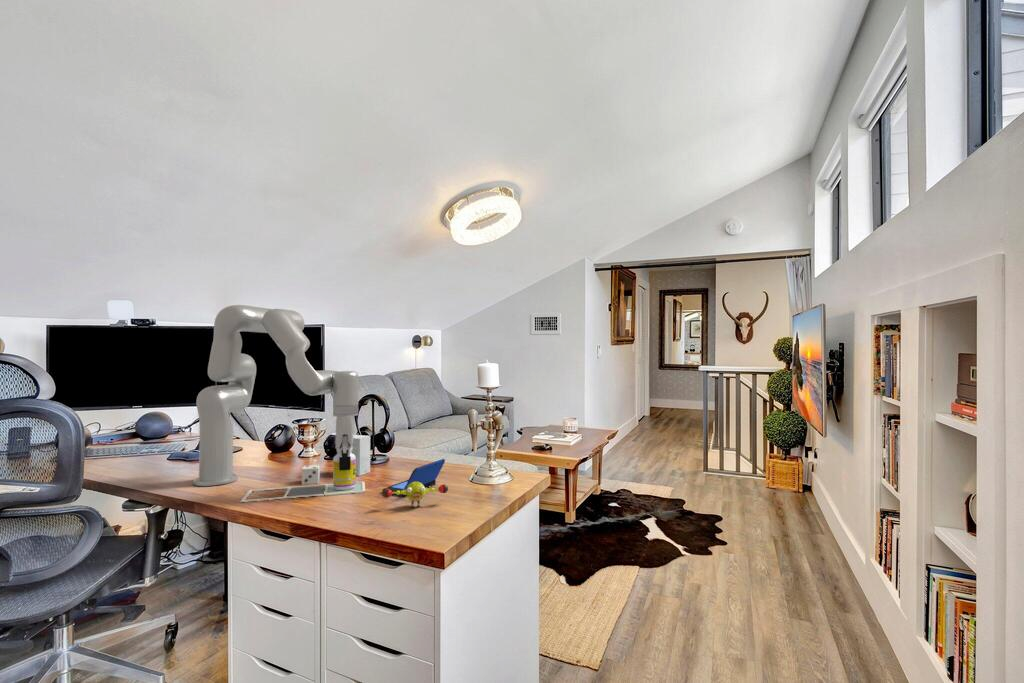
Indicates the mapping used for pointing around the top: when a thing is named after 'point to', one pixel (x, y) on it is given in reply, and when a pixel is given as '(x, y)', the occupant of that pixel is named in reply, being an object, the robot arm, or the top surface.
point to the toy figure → (414, 492)
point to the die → (310, 474)
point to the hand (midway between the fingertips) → (345, 466)
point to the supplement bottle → (344, 473)
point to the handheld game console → (420, 477)
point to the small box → (361, 453)
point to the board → (311, 491)
